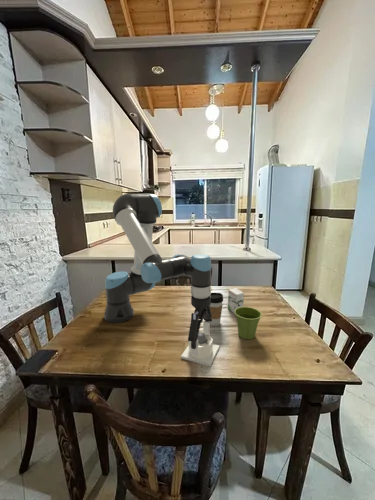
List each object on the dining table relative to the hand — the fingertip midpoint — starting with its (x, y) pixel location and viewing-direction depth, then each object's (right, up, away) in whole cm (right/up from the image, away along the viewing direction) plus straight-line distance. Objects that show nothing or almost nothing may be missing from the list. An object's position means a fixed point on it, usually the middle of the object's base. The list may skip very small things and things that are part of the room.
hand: (200, 344), depth 92 cm
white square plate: (0, -4, +1) cm, 4 cm away
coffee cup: (+8, +1, +24) cm, 25 cm away
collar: (0, -3, +1) cm, 3 cm away
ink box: (+21, +4, +37) cm, 42 cm away
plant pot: (+22, -1, +13) cm, 25 cm away
